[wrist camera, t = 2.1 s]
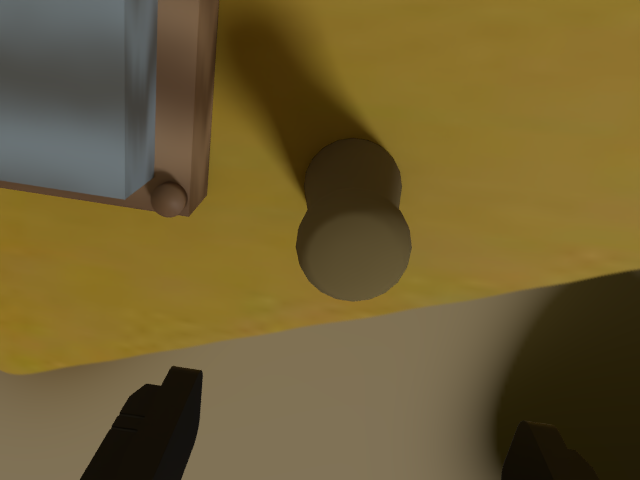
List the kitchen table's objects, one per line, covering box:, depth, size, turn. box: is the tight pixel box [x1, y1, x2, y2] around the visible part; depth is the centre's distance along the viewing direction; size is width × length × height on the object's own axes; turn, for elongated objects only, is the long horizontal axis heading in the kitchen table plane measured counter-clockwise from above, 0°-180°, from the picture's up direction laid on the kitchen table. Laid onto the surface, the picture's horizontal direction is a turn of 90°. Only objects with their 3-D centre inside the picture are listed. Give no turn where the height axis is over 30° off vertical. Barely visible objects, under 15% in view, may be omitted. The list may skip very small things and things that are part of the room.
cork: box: [296, 138, 412, 301], centre depth 27 cm, size 6×6×11 cm
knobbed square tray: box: [0, 0, 219, 217], centre depth 26 cm, size 14×14×8 cm
